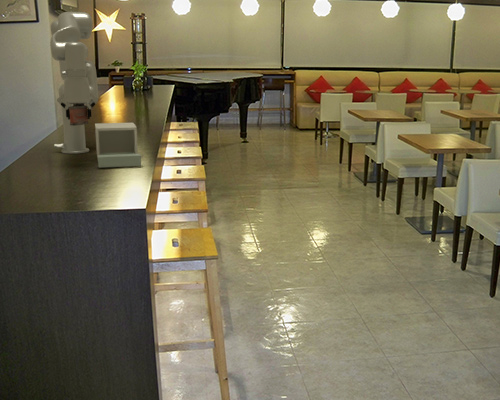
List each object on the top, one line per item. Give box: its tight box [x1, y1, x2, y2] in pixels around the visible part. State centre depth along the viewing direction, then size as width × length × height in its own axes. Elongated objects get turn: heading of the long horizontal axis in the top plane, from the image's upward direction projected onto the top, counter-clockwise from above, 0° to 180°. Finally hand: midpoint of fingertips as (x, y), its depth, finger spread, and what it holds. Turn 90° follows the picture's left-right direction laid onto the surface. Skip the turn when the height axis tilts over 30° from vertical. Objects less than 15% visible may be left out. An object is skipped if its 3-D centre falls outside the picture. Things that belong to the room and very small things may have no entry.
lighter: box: [69, 103, 89, 126], centre depth 242 cm, size 8×3×10 cm, turn 139°
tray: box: [97, 152, 142, 169], centre depth 251 cm, size 20×17×4 cm
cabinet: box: [94, 122, 139, 161], centre depth 264 cm, size 18×17×14 cm
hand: (79, 118), depth 242 cm, fingers closed on lighter, 7 cm apart
